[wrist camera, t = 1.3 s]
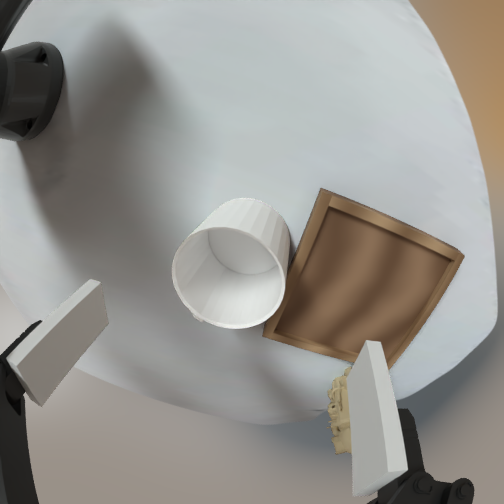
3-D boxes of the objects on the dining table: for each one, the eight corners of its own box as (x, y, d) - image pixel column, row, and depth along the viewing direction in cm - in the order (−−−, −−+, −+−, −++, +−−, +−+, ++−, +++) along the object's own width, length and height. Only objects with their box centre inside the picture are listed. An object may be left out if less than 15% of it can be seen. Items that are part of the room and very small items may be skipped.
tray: (264, 325, 34) (262, 336, 33) (320, 187, 27) (322, 191, 25) (385, 360, 34) (388, 370, 32) (457, 248, 26) (464, 256, 25)
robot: (313, 371, 37) (310, 465, 23) (370, 356, 34) (386, 451, 21) (330, 409, 40) (329, 489, 26) (378, 397, 38) (389, 477, 24)
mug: (247, 178, 28) (224, 200, 19) (307, 243, 29) (309, 290, 21) (174, 250, 32) (135, 292, 24) (229, 303, 34) (207, 356, 26)
